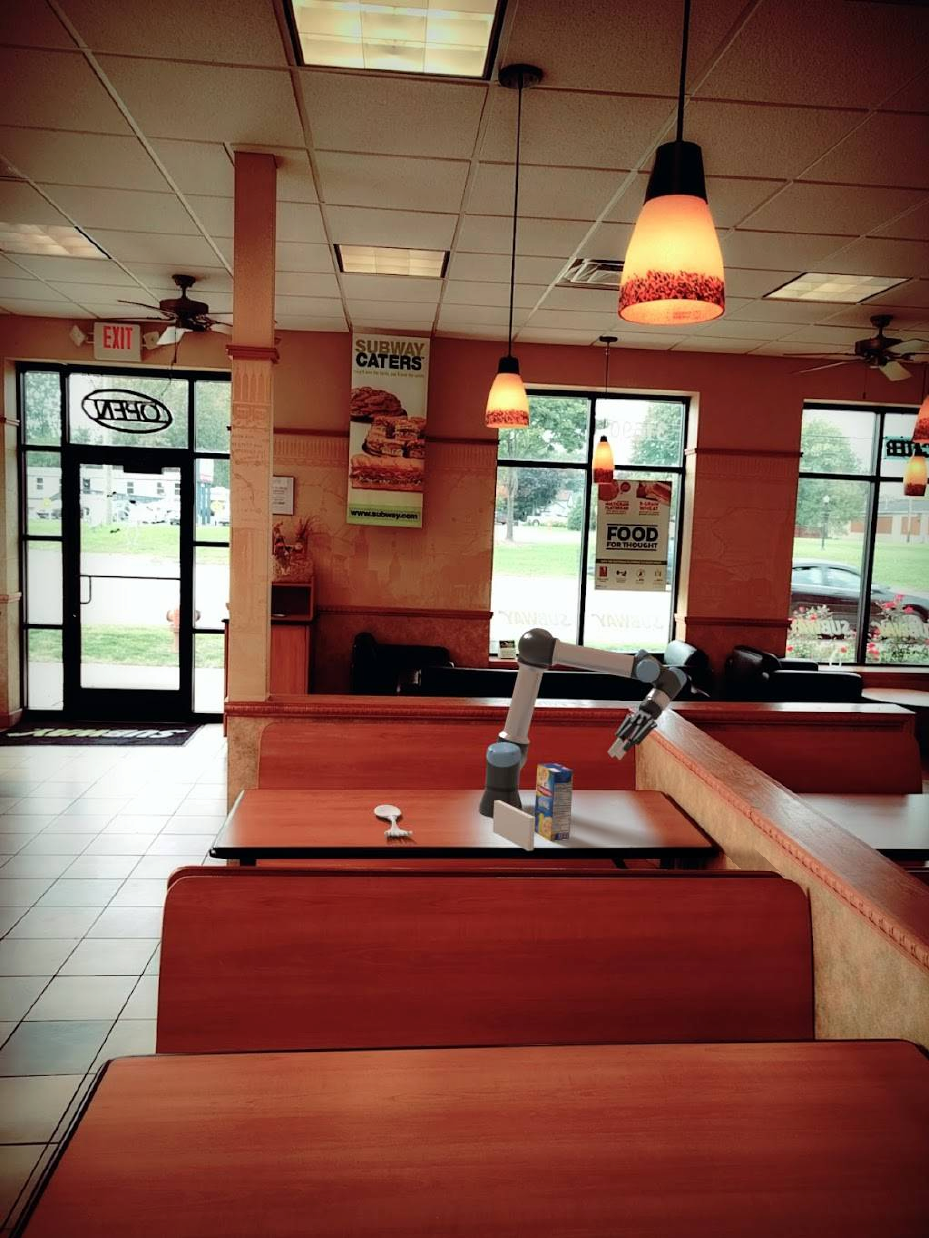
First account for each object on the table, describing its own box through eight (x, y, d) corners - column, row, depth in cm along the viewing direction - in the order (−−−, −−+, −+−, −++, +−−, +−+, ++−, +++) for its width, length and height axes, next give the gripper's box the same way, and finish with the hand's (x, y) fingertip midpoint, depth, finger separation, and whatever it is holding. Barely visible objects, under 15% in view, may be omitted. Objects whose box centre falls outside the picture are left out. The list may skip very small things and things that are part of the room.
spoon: (383, 842, 253) (384, 831, 253) (372, 812, 284) (372, 802, 284) (413, 842, 255) (413, 831, 255) (398, 811, 286) (399, 801, 286)
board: (492, 831, 269) (494, 800, 269) (497, 830, 270) (499, 800, 270) (527, 850, 252) (529, 818, 252) (533, 849, 253) (535, 817, 253)
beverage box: (550, 841, 262) (554, 772, 261) (533, 830, 272) (537, 764, 271) (569, 839, 265) (573, 771, 264) (551, 828, 275) (555, 763, 274)
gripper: (675, 716, 282) (635, 768, 274) (643, 708, 296) (603, 757, 288) (665, 701, 279) (624, 753, 271) (632, 694, 293) (592, 743, 285)
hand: (613, 755), depth 280 cm, fingers open, 3 cm apart
